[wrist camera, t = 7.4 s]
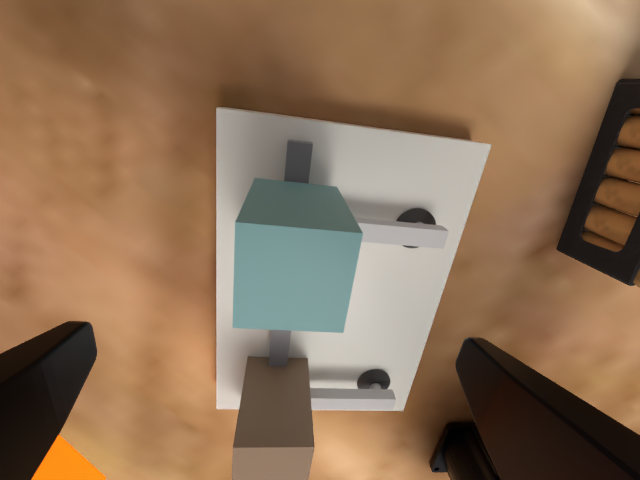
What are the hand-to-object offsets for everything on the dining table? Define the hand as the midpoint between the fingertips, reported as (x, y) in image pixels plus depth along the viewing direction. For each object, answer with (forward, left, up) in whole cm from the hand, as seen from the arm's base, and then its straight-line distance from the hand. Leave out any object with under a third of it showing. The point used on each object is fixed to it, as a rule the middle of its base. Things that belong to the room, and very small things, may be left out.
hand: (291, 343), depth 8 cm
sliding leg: (0, -3, -10) cm, 10 cm away
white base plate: (-5, -3, -12) cm, 14 cm away
